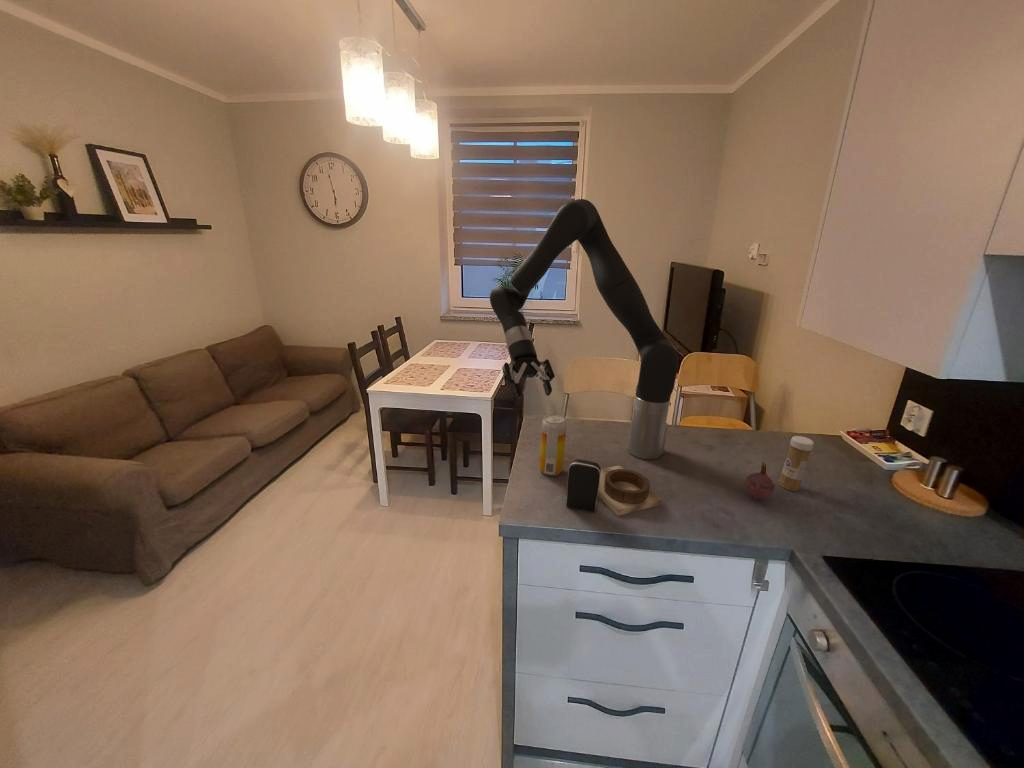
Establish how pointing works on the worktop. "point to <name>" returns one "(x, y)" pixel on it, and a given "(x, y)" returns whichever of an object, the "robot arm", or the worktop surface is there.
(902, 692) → the worktop surface
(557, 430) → the beer can
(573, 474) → the battery charger
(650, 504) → the collar board
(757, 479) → the vegetable
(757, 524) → the worktop surface
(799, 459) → the sprinkles bottle
